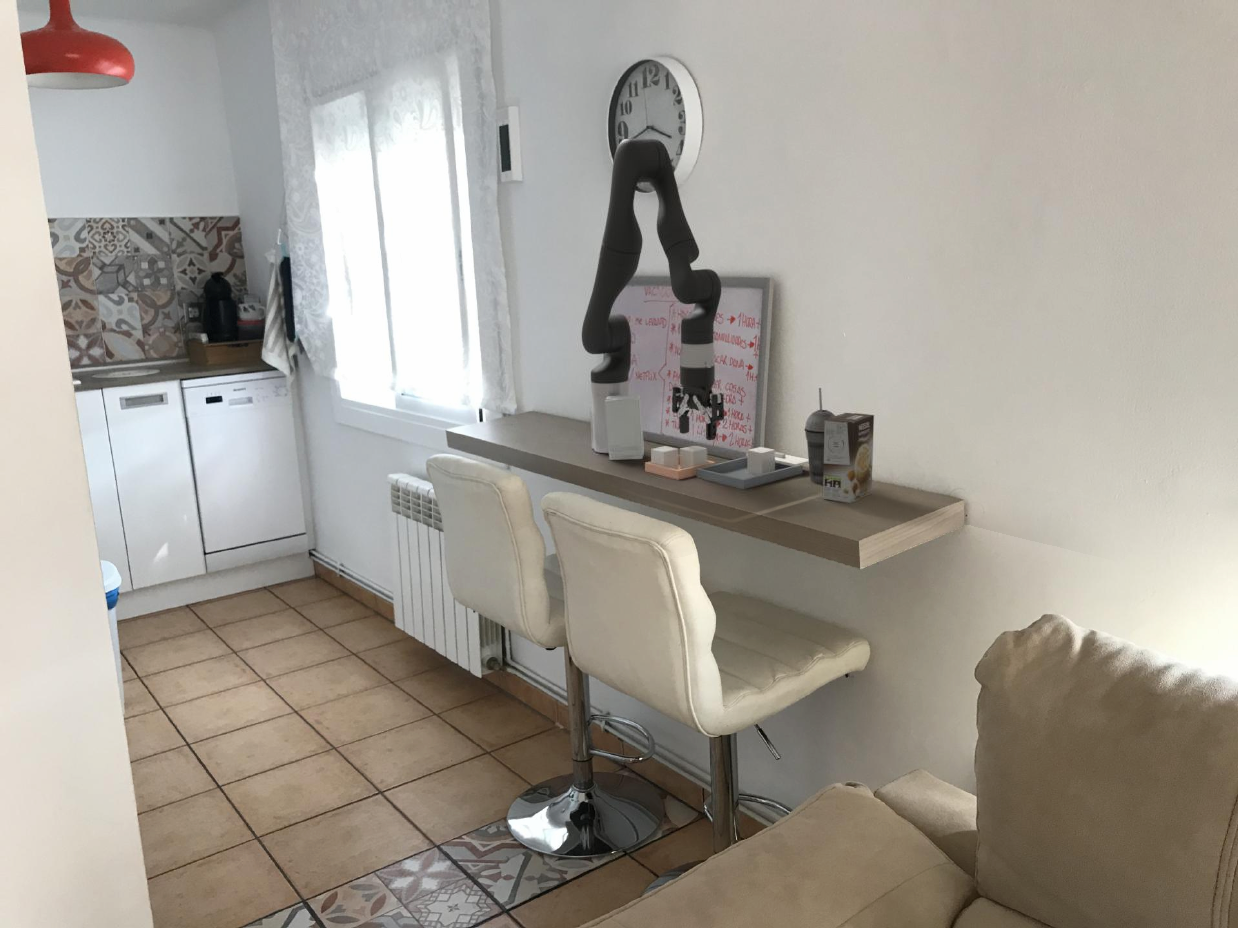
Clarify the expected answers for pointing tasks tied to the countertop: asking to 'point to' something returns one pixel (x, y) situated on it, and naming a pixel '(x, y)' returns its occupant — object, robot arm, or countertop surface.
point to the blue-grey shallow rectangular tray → (740, 478)
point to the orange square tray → (673, 472)
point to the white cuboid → (692, 456)
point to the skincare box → (624, 427)
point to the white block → (665, 457)
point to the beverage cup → (816, 441)
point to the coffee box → (848, 457)
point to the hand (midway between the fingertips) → (697, 436)
